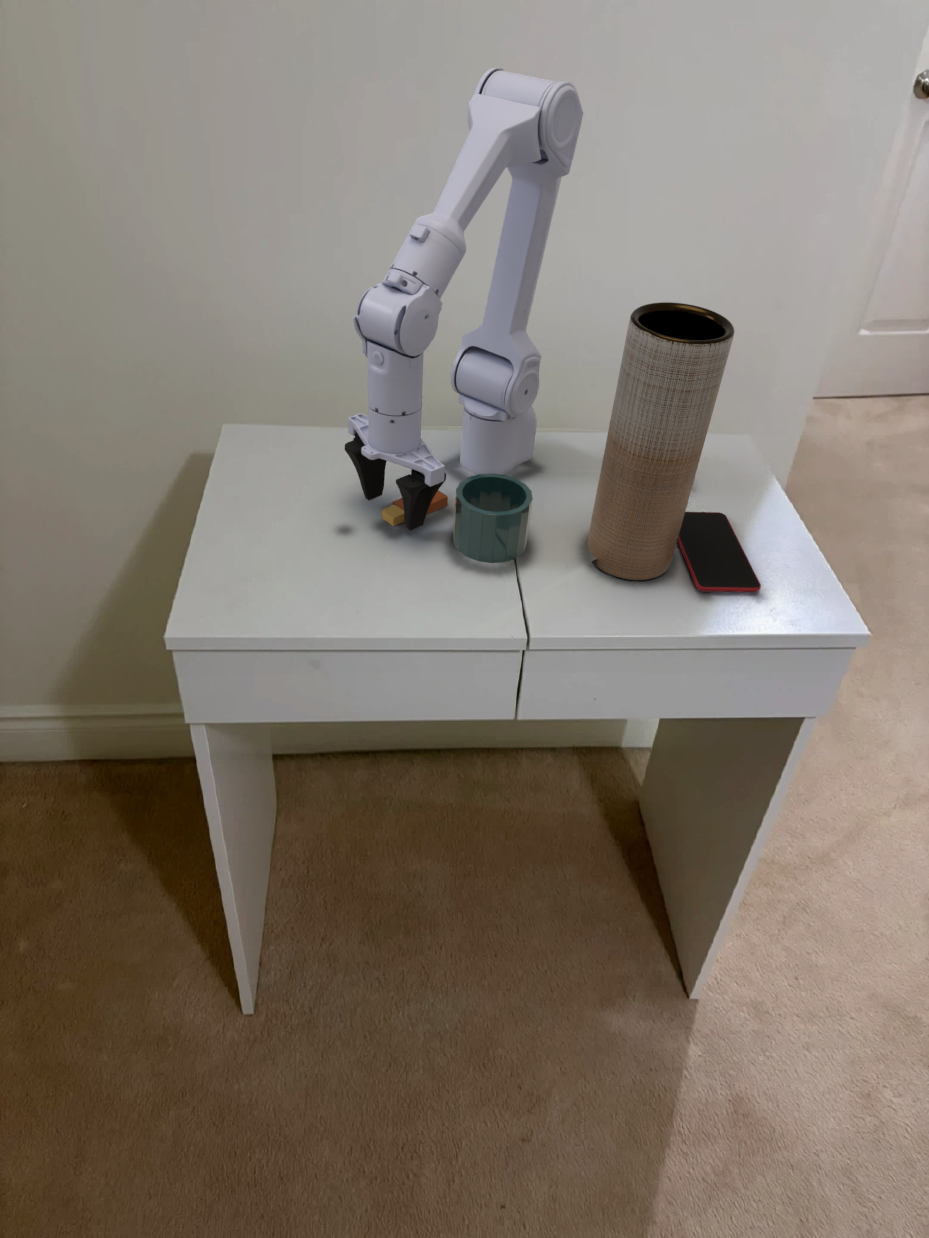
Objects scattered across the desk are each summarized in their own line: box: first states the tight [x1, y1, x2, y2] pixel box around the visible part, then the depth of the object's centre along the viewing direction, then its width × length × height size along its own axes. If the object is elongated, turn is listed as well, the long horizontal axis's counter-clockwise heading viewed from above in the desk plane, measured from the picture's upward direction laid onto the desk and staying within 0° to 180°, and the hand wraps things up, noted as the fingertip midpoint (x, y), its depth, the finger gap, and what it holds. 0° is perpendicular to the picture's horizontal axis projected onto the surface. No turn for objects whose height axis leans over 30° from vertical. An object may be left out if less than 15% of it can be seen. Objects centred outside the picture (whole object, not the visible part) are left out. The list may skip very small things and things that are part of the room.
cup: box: [452, 473, 534, 564], centre depth 96 cm, size 8×8×8 cm
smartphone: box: [677, 511, 762, 593], centre depth 99 cm, size 7×1×15 cm
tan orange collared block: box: [381, 489, 449, 527], centre depth 101 cm, size 8×3×2 cm, turn 132°
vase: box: [586, 301, 735, 581], centre depth 90 cm, size 10×10×28 cm
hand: (393, 511), depth 99 cm, fingers open, 7 cm apart
